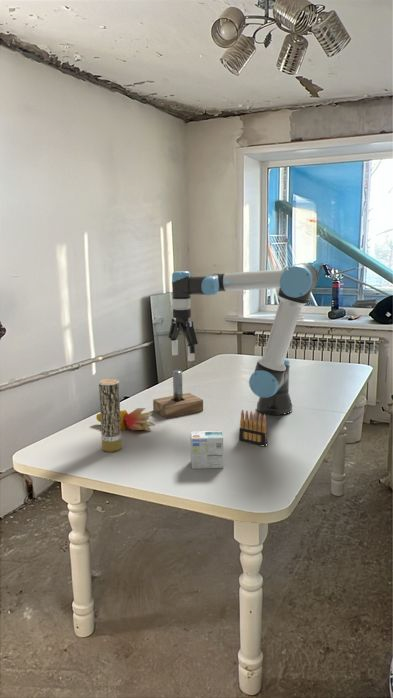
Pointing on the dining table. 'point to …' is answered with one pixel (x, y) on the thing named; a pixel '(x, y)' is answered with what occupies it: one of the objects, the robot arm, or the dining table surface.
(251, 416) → the ammunition clip
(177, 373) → the pin
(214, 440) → the light bulb box
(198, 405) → the bore block
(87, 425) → the dining table surface
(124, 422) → the torch
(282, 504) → the dining table surface
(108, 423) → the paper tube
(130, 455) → the dining table surface
